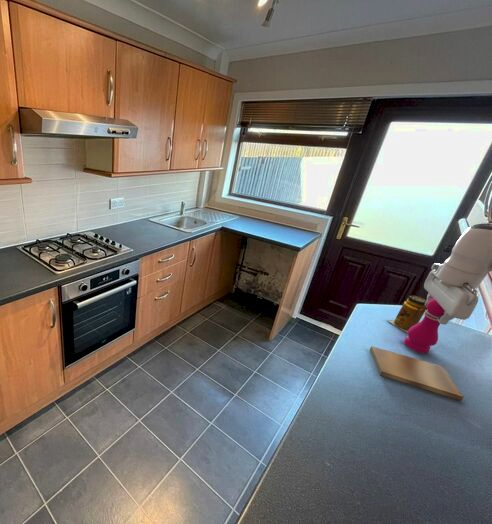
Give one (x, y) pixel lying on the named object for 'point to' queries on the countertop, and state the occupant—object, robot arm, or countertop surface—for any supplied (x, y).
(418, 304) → the condiment
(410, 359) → the chopping board
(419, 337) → the pepper mill
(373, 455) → the countertop surface
